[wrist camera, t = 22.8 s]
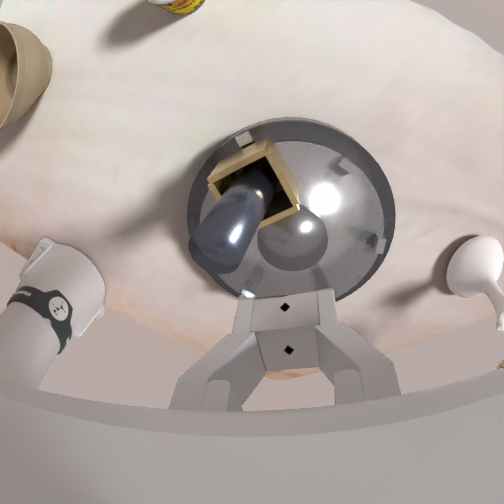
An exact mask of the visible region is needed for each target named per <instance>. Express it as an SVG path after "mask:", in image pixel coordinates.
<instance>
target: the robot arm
mask: <svg viewBox="0 0 504 504" xmlns="http://www.w3.org/2000/svg"><path fill="white" fill-rule="evenodd" d="M20 279H21V282H20V284H19V286H18V288H17V290H16V292H15V293H14V294H13V295H12V297H11V298H10V300H9V302H8V303H7V307H6V309H5V310H4V311H3V312H2V313H1V315H0V504H504V368H501V369H498V370H495V371H492V372H489V373H486V374H483V375H479V376H476V377H473V378H469V379H466V380H463V381H459V382H455V383H451V384H448V385H444V386H440V387H435V388H431V389H427V390H422V391H417V392H413V393H408V394H403V395H401V392H400V388H399V384H398V380H397V376H396V372H395V368H394V364H393V362H392V361H391V360H390V359H388V358H387V357H386V356H385V355H384V354H382V353H381V352H380V351H379V350H377V349H376V348H375V347H374V346H372V345H371V344H370V343H369V342H367V341H366V340H365V339H364V338H362V337H361V336H360V335H359V334H357V333H356V332H355V331H354V330H352V329H351V328H350V327H349V326H347V325H346V324H345V323H344V322H342V323H339V321H338V315H337V309H336V303H335V297H334V291H333V289H332V288H330V289H324V290H317V291H314V292H306V293H298V294H290V295H278V296H267V297H256V298H246V299H240V300H239V302H238V306H237V311H236V315H235V320H234V325H233V330H232V334H227V335H226V336H225V337H224V338H223V339H221V340H220V341H219V342H218V343H217V344H216V345H215V346H214V347H213V348H212V349H211V350H209V351H208V352H207V353H206V354H205V355H204V356H203V357H202V358H201V359H200V360H199V361H197V362H196V363H195V364H194V365H193V366H192V367H191V368H190V369H188V370H187V371H186V372H185V373H184V374H183V375H182V376H181V377H180V378H178V380H177V383H176V387H175V390H174V393H173V396H172V399H171V403H170V406H169V409H159V408H148V407H147V408H146V407H137V406H128V405H120V404H112V403H104V402H98V401H91V400H85V399H80V398H73V397H69V396H63V395H58V394H54V393H49V392H44V391H40V390H38V388H39V386H40V383H41V381H42V379H43V377H44V376H45V374H46V372H47V370H48V368H49V367H50V365H51V363H52V362H53V360H54V358H55V357H56V355H58V354H60V353H61V352H62V350H63V349H64V348H65V347H66V346H67V344H68V342H69V340H70V338H71V337H80V336H81V335H82V334H83V332H84V331H85V330H86V328H87V327H88V326H89V324H90V323H91V322H92V320H96V319H102V318H103V317H104V315H105V309H104V305H103V302H104V298H105V286H104V282H103V279H102V277H101V275H100V273H99V271H98V270H97V268H96V267H95V265H94V264H93V263H92V262H91V261H90V260H89V259H88V258H87V257H86V256H85V255H84V254H82V253H81V252H80V251H78V250H76V249H75V248H72V247H70V246H67V245H62V244H57V243H55V242H54V241H52V240H50V239H49V238H47V237H43V238H42V239H41V240H40V242H39V243H38V245H37V246H36V248H35V250H34V251H33V253H32V254H31V256H30V258H29V259H28V261H27V263H26V264H25V266H24V268H23V269H22V271H21V273H20ZM313 367H319V368H320V369H321V371H322V372H323V373H324V374H325V375H326V377H327V378H328V379H329V380H330V381H331V383H332V384H333V385H334V389H335V390H334V391H335V405H332V406H323V407H312V408H300V409H286V410H269V411H268V410H267V411H243V409H242V407H241V406H242V405H243V404H244V402H245V401H246V400H247V398H248V397H249V395H250V394H251V393H252V392H253V390H254V389H255V388H256V386H257V385H258V384H259V382H260V381H261V380H262V378H263V377H264V376H265V374H266V372H267V371H277V370H287V369H299V368H313Z"/></svg>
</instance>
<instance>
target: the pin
mask: <svg viewBox="0 0 504 504" xmlns="http://www.w3.org/2000/svg"><path fill="white" fill-rule="evenodd" d="M279 184H280V181H279V179H278V177H277V175H276V174H275V172H274V170H273V168H272V166H271V165H270V163H269V161H268V159H267V158H266V156H263V157H262V158H260V159H258V160H256V161H254V162H252V163H250V164H248V165H246V166H245V167H244V168H243V169H242V171H241V172H240V173H239V174H238V176H237V177H236V178H235V180H234V181H233V182H232V183H231V185H230V186H229V187H228V189H227V190H226V191H225V192H224V194H223V195H222V196H221V198H220V199H219V200H218V202H217V203H216V204H215V205H214V207H213V208H212V209H211V211H210V212H209V213H208V215H207V216H206V217H205V219H204V220H203V221H202V223H201V224H200V225H199V227H198V228H197V229H196V231H195V232H194V234H193V235H192V236H191V238H190V240H189V251H190V254H191V256H192V258H193V259H194V260H195V262H196V263H197V264H198V265H200V266H201V267H202V268H204V269H205V270H207V271H209V272H212V273H215V274H229V273H232V272H234V271H235V270H236V269H237V268H238V267H239V265H240V263H241V261H242V259H243V257H244V255H245V253H246V251H247V249H248V247H249V245H250V243H251V241H252V239H253V237H254V235H255V232H256V230H257V228H258V226H259V224H260V222H261V220H262V218H263V216H264V214H265V212H266V210H267V208H268V206H269V204H270V202H271V200H272V198H273V196H274V194H275V192H276V190H277V188H278V186H279Z"/></svg>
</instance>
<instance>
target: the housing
mask: <svg viewBox="0 0 504 504" xmlns="http://www.w3.org/2000/svg"><path fill="white" fill-rule="evenodd" d="M267 136H269V138H270V140H271V141H272V140H274V141H280V140H304V141H311V142H315V143H319V144H322V145H325V146H328V147H330V148H332V149H334V150H337V151H338V152H340V153H342V154H343V155H345V156H346V157H348V158H349V159H350V160H351V161H353V162H354V163H355V164H356V165H357V166H358V167H359V168H360V169H361V170H362V171H363V172H364V174H365V175H366V176H367V177H368V179H369V180H370V182H371V183H372V185H373V187H374V188H375V190H376V192H377V195H378V197H379V199H380V203H381V206H382V210H383V217H384V233H383V234H384V236H385V237H386V243H385V248H384V252H383V254H378V256H377V258H376V260H375V262H374V264H373V265H372V267H371V268H370V270H369V271H368V272H367V274H366V275H365V276H364V277H363V278H362V279H361V280H360V281H359V282H358V283H357V284H356V285H355V286H354V287H353V288H351V289H350V290H348V291H347V292H346V293H344V294H342V295H340V296H339V297H337V298H335V302H337V301H339V300H341V299H343V298H345V297H347V296H348V295H350V294H352V293H353V292H355V291H356V290H357V289H359V288H360V287H361V286H362V285H364V284H365V283H366V282H367V281H368V280H369V279H370V278H371V277H372V276H373V274H374V273H375V272H376V271H377V270H378V268H379V267H380V265H381V264H382V262H383V261H384V259H385V257H386V255H387V253H388V251H389V248H390V245H391V242H392V239H393V234H394V229H395V215H396V214H395V204H394V198H393V194H392V190H391V187H390V185H389V183H388V180H387V178H386V176H385V174H384V172H383V171H382V169H381V167H380V166H379V164H378V163H377V162H376V161H375V159H374V158H373V157H372V156H371V155H370V154H369V153H368V152H367V151H366V150H365V149H364V148H363V147H362V146H361V145H360V144H359V143H358V142H357V141H355V140H354V139H353V138H352V137H351V136H349V135H348V134H346V133H345V132H343V131H341V130H340V129H338V128H335V127H333V126H331V125H329V124H326V123H323V122H320V121H317V120H313V119H307V118H299V117H284V118H275V119H269V120H266V121H262V122H258V123H256V124H253V125H251V126H248V127H246V128H244V129H242V130H241V131H239V132H237V133H236V134H234V135H233V136H231V137H230V138H229V139H228V140H226V141H225V142H224V143H223V144H222V145H221V146H220V147H219V148H218V149H217V150H216V151H215V152H214V153H213V155H212V156H211V157H210V158H209V159H208V160H207V162H206V163H205V164H204V166H203V167H202V169H201V170H200V172H199V174H198V176H197V178H196V180H195V182H194V184H193V187H192V190H191V193H190V197H189V203H188V209H187V223H188V230H189V236H190V238H191V236H192V235H193V234H194V232H195V231H196V229H197V226H198V224H199V223H200V215H201V208H202V205H203V202H204V199H205V196H206V194H207V192H208V190H209V187H208V184H209V182H208V180H207V178H208V176H209V175H210V174H211V172H212V171H213V170H214V168H215V167H216V166H217V164H218V163H219V162H220V161H222V160H224V159H225V158H227V157H229V156H231V155H233V154H235V153H236V152H238V151H240V150H242V149H244V148H246V147H248V146H250V145H252V144H254V143H256V142H258V141H260V140H261V139H263V138H265V137H267ZM206 271H207V270H206ZM207 272H208V273H209V275H210V276H211V277H212V278H213V279H214V280H215V281H216V282H217V283H218V284H219V285H221V286H222V287H223V288H224V289H226V290H227V291H228V292H230V293H232V294H233V295H235V296H236V297H238V295H239V293H238V292H236V291H235V290H234V289H232V288H231V287H230V286H229V285H227V284H226V283H225V282H224V281H223V280H222V279H221V278H220V277H219V275H218V274H215V273H212V272H209V271H207Z"/></svg>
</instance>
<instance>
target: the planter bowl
mask: <svg viewBox="0 0 504 504" xmlns="http://www.w3.org/2000/svg"><path fill="white" fill-rule="evenodd" d="M51 73H52V59H51V55H50V52H49V50H48V49H47V48H46V47H45V46H44V45H43V44H42V43H41V42H40V40H39V39H38V38H37V37H36V36H35V35H34V34H33V33H32V32H31V31H29V30H28V29H26V28H24V27H22V26H19V25H16V24H11V23H5V22H1V21H0V131H1V130H3V129H5V128H7V127H8V126H10V125H12V124H13V123H14V122H16V121H17V120H18V119H20V118H21V117H22V116H23V115H24V114H25V113H26V112H27V111H28V110H29V109H30V108H31V106H32V105H33V104H34V103H35V101H36V100H37V98H38V97H40V96H41V95H42V93H43V92H44V91H45V89H46V88H47V86H48V84H49V81H50V77H51Z"/></svg>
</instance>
